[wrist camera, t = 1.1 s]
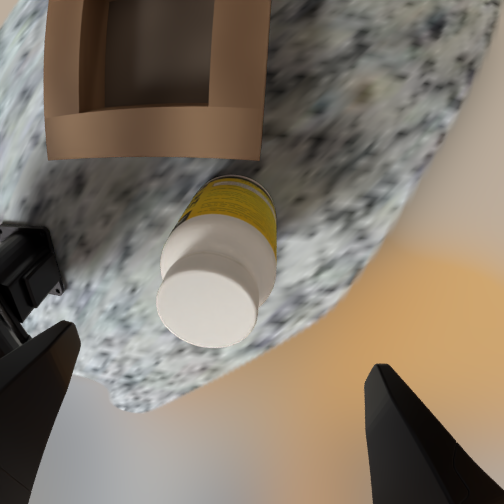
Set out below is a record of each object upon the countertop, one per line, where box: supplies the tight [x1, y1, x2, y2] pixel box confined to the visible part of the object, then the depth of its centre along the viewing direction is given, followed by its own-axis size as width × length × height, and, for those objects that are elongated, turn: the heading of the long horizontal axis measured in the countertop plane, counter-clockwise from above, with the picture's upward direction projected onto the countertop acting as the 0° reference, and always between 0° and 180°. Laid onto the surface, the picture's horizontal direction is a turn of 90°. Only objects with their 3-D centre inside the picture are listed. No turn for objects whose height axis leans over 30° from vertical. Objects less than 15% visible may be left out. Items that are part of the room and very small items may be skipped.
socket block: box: [44, 0, 271, 161], centre depth 14 cm, size 12×12×4 cm
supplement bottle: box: [156, 175, 277, 348], centre depth 16 cm, size 5×5×10 cm
